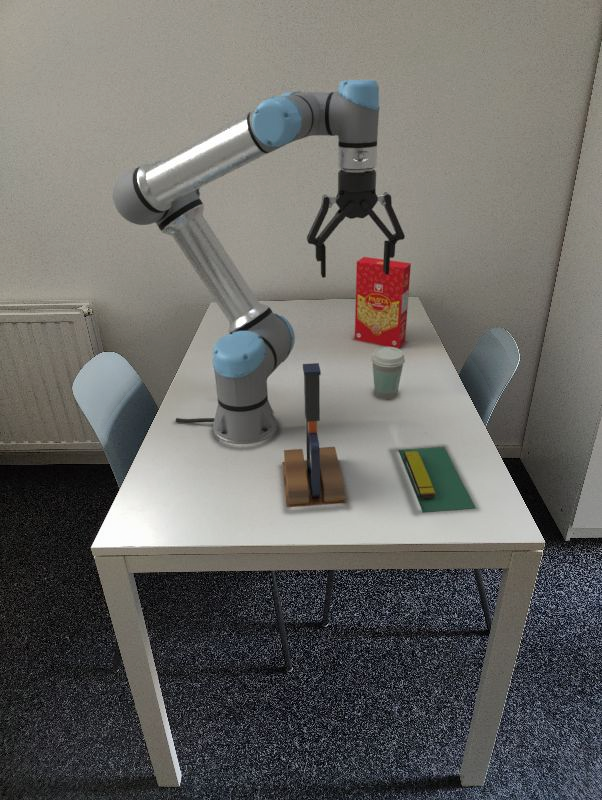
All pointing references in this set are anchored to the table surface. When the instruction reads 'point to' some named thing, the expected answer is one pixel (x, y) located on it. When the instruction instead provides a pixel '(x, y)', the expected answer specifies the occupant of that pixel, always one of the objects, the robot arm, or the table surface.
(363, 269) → the food packaging
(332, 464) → the stand
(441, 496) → the mat
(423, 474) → the harmonica
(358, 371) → the table surface
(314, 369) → the racket
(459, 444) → the table surface
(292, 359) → the table surface
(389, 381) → the coffee cup
